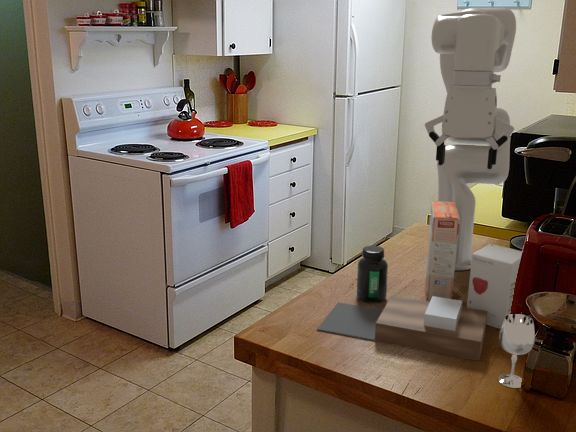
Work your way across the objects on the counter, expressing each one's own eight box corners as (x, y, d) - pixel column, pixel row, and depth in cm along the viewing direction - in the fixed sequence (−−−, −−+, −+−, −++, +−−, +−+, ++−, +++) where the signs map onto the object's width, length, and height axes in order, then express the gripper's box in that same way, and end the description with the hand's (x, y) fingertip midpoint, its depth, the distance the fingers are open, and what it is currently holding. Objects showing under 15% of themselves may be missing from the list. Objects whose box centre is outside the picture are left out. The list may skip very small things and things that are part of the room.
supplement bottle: (378, 306, 137) (381, 256, 134) (351, 299, 141) (353, 250, 137) (390, 295, 143) (393, 247, 139) (364, 289, 146) (366, 242, 143)
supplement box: (464, 318, 132) (470, 252, 127) (482, 304, 138) (489, 242, 134) (504, 331, 126) (512, 263, 121) (522, 317, 132) (530, 252, 128)
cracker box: (452, 307, 136) (460, 218, 130) (425, 305, 138) (431, 216, 132) (449, 283, 150) (456, 201, 144) (424, 281, 151) (430, 199, 145)
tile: (431, 307, 127) (432, 296, 127) (461, 311, 125) (462, 300, 125) (423, 325, 120) (424, 313, 119) (455, 331, 117) (456, 319, 117)
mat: (337, 303, 139) (337, 302, 138) (390, 312, 134) (390, 311, 134) (317, 330, 126) (317, 328, 126) (373, 340, 122) (373, 339, 122)
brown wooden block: (390, 312, 134) (391, 295, 133) (485, 328, 127) (487, 311, 126) (374, 341, 122) (375, 322, 121) (479, 360, 114) (480, 341, 113)
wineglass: (489, 373, 110) (495, 312, 107) (519, 371, 111) (527, 311, 107) (502, 391, 105) (509, 327, 101) (534, 389, 105) (543, 326, 102)
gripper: (520, 81, 120) (511, 166, 125) (431, 78, 127) (426, 160, 131) (517, 82, 114) (508, 172, 118) (424, 79, 120) (418, 165, 125)
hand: (465, 166), depth 125 cm, fingers open, 9 cm apart
